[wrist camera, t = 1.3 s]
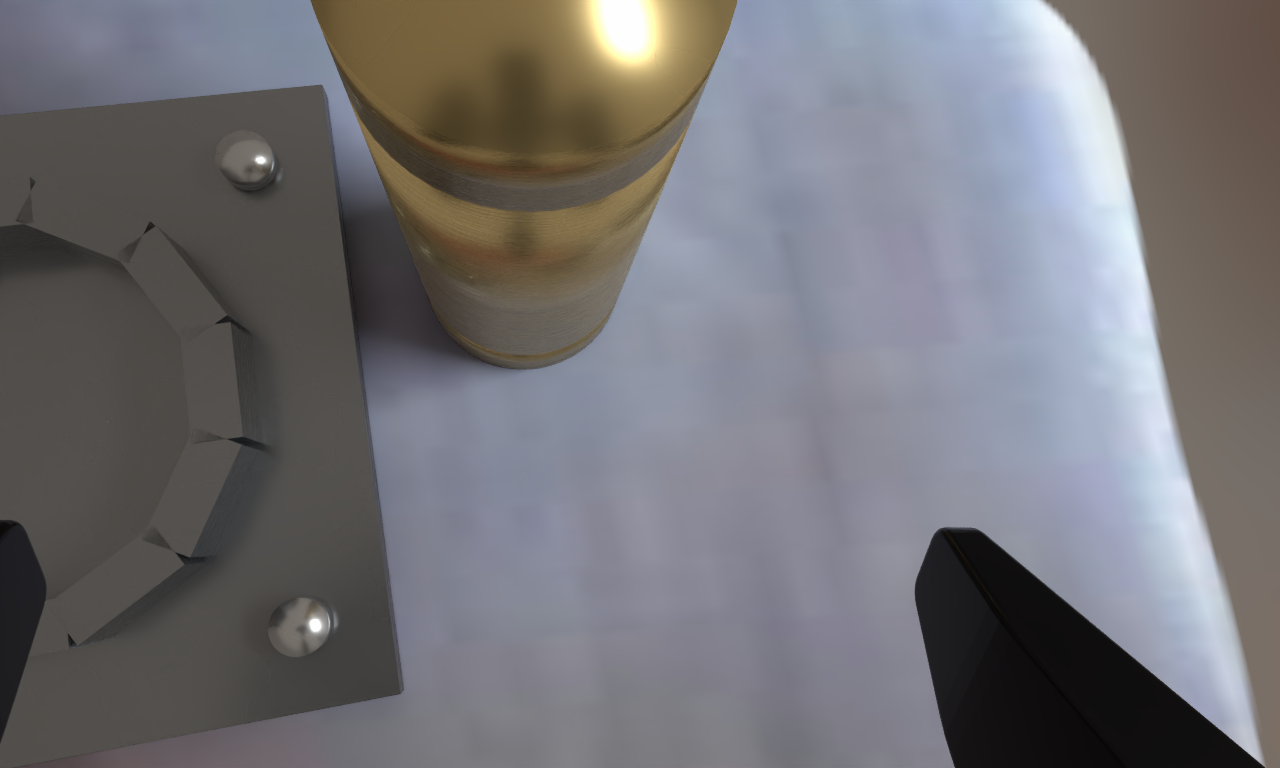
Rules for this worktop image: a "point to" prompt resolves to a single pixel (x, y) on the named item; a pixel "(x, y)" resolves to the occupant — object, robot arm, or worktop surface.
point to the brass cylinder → (524, 148)
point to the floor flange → (186, 422)
